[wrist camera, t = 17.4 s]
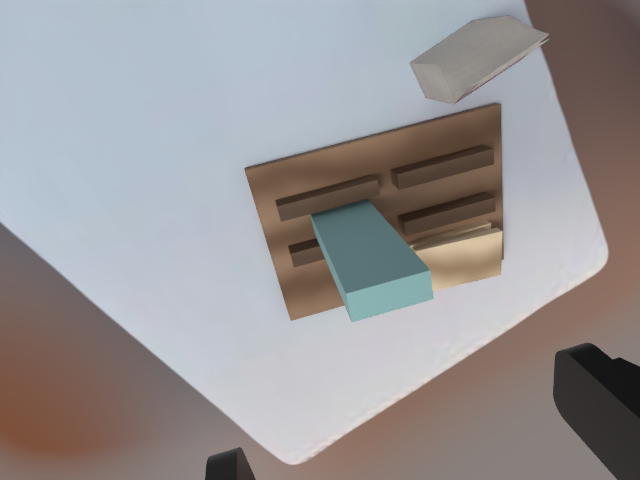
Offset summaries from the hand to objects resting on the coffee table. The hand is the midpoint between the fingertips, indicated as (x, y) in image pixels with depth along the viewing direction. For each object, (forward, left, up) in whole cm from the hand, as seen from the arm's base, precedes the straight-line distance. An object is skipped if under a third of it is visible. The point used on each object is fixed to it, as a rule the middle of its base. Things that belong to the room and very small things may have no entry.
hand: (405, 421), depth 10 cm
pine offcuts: (+16, +15, -32) cm, 39 cm away
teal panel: (+8, +4, -32) cm, 33 cm away
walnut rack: (+10, +9, -33) cm, 36 cm away
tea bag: (-4, +17, -33) cm, 38 cm away
